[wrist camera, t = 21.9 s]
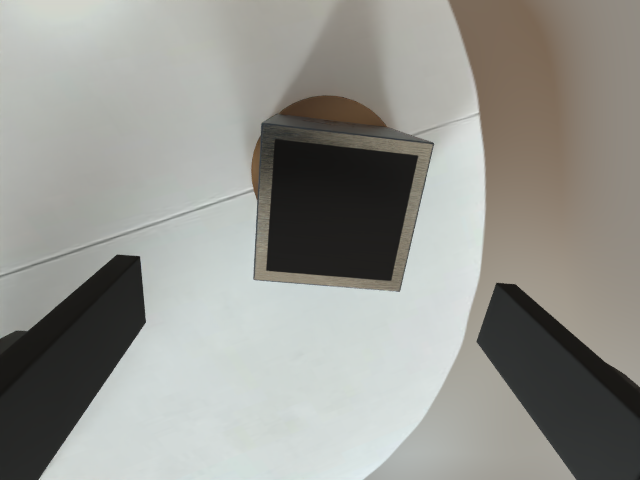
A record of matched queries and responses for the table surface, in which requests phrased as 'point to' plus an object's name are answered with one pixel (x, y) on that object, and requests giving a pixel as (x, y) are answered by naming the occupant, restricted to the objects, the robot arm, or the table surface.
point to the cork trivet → (326, 110)
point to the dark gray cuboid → (337, 202)
